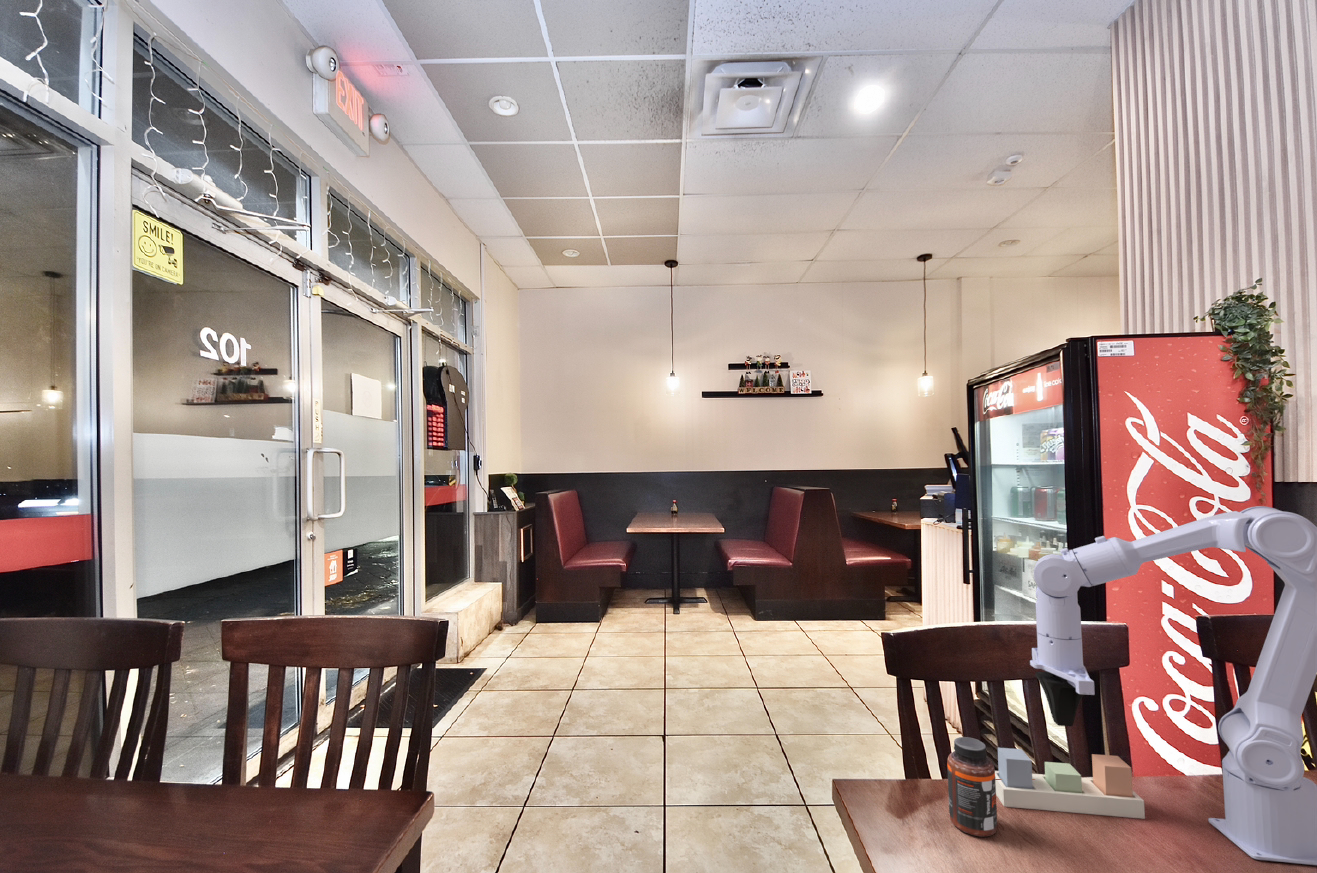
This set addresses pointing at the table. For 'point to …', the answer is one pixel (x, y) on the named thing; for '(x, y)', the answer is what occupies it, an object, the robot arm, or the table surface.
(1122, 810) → the button bar
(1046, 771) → the button green
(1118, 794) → the button terracotta
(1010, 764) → the button slate
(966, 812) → the supplement bottle
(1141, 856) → the table surface
